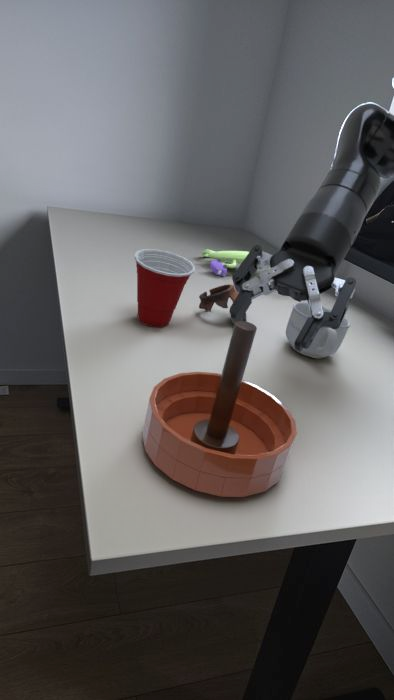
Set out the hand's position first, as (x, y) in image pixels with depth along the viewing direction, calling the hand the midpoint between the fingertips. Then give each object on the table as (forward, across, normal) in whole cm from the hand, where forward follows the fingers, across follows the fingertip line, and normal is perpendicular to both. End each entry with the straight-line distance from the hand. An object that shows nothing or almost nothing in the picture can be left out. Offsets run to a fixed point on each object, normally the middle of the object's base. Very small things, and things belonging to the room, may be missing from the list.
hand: (264, 333), depth 59 cm
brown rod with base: (+14, 0, +5) cm, 15 cm away
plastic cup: (-3, -28, +24) cm, 36 cm away
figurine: (-38, -32, +58) cm, 76 cm away
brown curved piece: (-13, -20, +34) cm, 41 cm away
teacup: (-13, -2, +34) cm, 36 cm away
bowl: (+14, 0, +6) cm, 15 cm away
